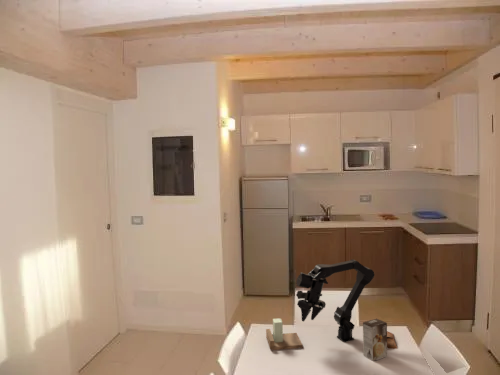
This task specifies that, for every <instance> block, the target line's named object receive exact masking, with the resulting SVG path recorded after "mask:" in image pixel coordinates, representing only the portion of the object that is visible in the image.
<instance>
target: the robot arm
mask: <svg viewBox="0 0 500 375" xmlns="http://www.w3.org/2000/svg"><path fill="white" fill-rule="evenodd" d="M353 269H354V270H355V271H356V272H357V273H356V277H355V278H356V279H355V283H354V285H353V286H352V288H351V290H350V292H349V294H348V296H347V297H346V300H345V301H344V303H343V304H342V306H341V307H340V306H337V307H336V309H335V311H334V312H333V314H334V315H333V320H334V321H335V322H336V323H337V325H339V326H338V329H337V336H336V338H337V339H339V340H341V341H342V342H344V343H346V342H349V341H353V340H355V337H353V330H354V329H355V324H354V323H353V322H352V321H351V319H352V316H353V315H352V313H353V309H354V307H355V306H356V303H357V302H358V300H359V298H360V297H361V294H362V292H363V290H364V289H365V287H366V286H367V285H368V284H370V283H371V282H372V281H373V279H374V278H375V271H374V270H373V268H372V269H371V268H369V267H367V266H365V265H363V264H361V263H360V262H359V261H358V260H355V259H350V260H346V261H341V262H336V263H332V264H326V263H325V264H323V263H321V264H320V263H319V264H316V265H315V266H314V268H313V269H312V270H311V271H309V272H308V273H304V272H300V274H298V276H297V278H296V286H297V287H300V288H305V289H308V290H307V291H306V292H305V291H304V292H303V290H298V291H297V292H296V294H295V295H296V297H297V300H298V301H297V306H298V307H299V308H300V310H301V312H300V313H301V321H302V322H305V321H306V319H307V317H308V316H309V314H310V313H311V317H310V320H311V321H314V320H315V319H316V317H317V316H318V315H319V314H320V312H322V311H323V310H324V309H325V308H326V305H327V303H326V302H325V301H324V300H321V297H322V296H323V293H322V291H323V288H324V284H325V285H328V284H329V282H328V280H327V278H329V277H331V276H333V274H338V273H340V272H345V271H350V270H353Z"/></svg>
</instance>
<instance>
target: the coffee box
mask: <svg viewBox="0 0 500 375" xmlns="http://www.w3.org/2000/svg"><path fill="white" fill-rule="evenodd" d="M387 324H388V323H387V321H383V320H382V319H379V318H374V319H370V320H367V321H363V322H362V337H363V338H362V340H363V341H362V342H363V343H362V345H363V346H362V347H363V348H362V349H363V354H362V355H363V357H365V358H367V359H369V360H371V361H372V362H374V361H378V360H381V359H383V358H386V357H388V348H387V331H388V325H387Z"/></svg>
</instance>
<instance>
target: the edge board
mask: <svg viewBox="0 0 500 375" xmlns="http://www.w3.org/2000/svg"><path fill="white" fill-rule="evenodd" d="M265 332H266V333H265V335H266V336H265V337H266V341H267V344H268V347H269V350H270V351H275V350H276V351H277V350H278V351H279V350H291V349H292V350H293V349H303V348H304V346H303V345H304V344H303V343H302V341H301V339H300V337H299V335H298V333H297V332H289V333H283V342H276V343H275V342H274V339H273V332H272V331H271V329H270V328H266V329H265Z"/></svg>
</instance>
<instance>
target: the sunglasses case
mask: <svg viewBox="0 0 500 375" xmlns="http://www.w3.org/2000/svg"><path fill="white" fill-rule="evenodd" d="M387 349H389V350H390V349H393V350H394V349H395V350H397V349H398V346H397V343H396V341H395V336H394V333H392V332H390V331H388V330H387Z"/></svg>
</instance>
